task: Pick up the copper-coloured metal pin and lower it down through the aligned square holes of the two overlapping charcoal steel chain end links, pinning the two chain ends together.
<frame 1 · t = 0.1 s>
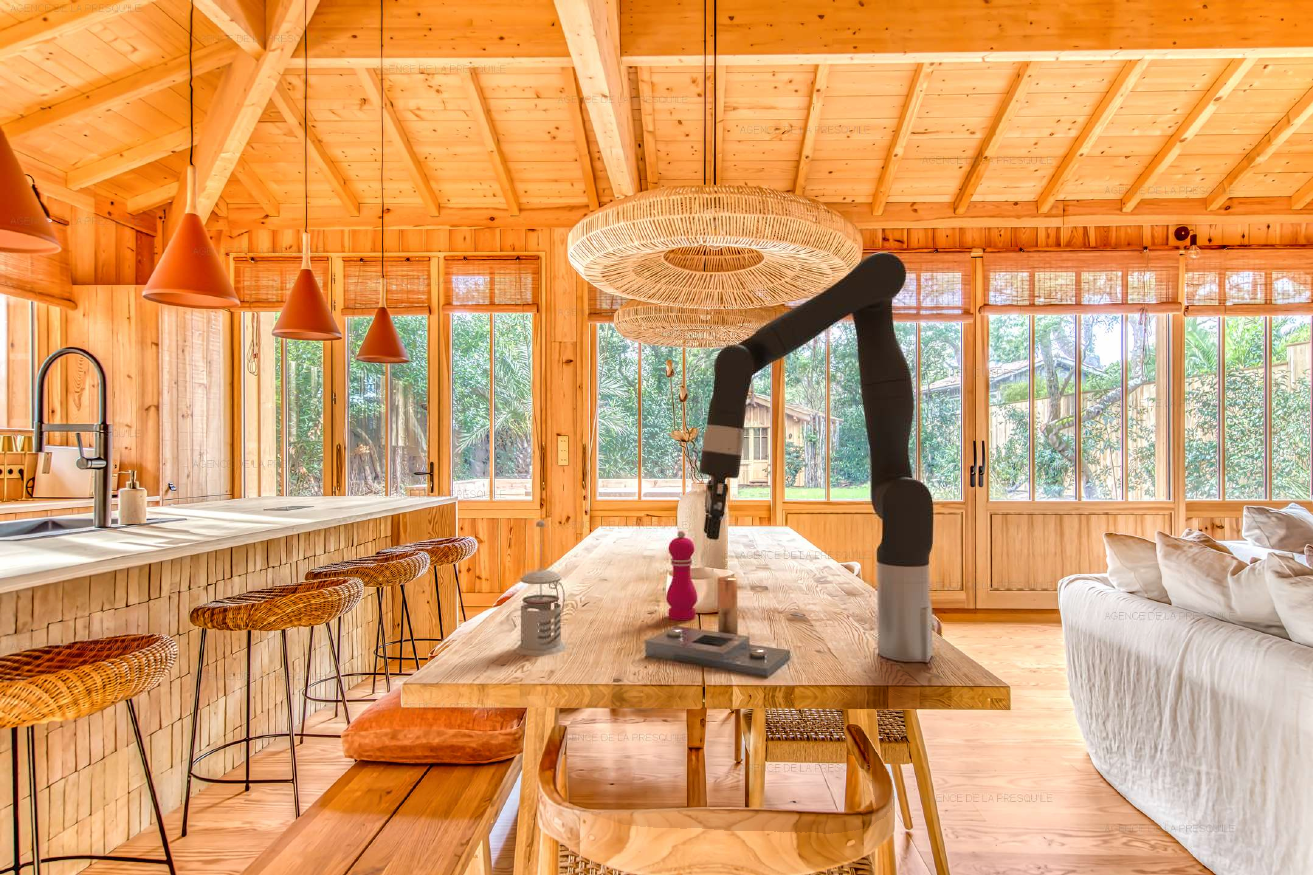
hand: (710, 536, 125), 22 cm above the table, tool pointing down, fingers open, 8 cm apart
lower link: (712, 656, 123), on the table
french press: (543, 647, 131), on the table
upper link: (712, 656, 123), on the table
copper pin: (728, 636, 137), on the table
pepper mill: (682, 617, 154), on the table
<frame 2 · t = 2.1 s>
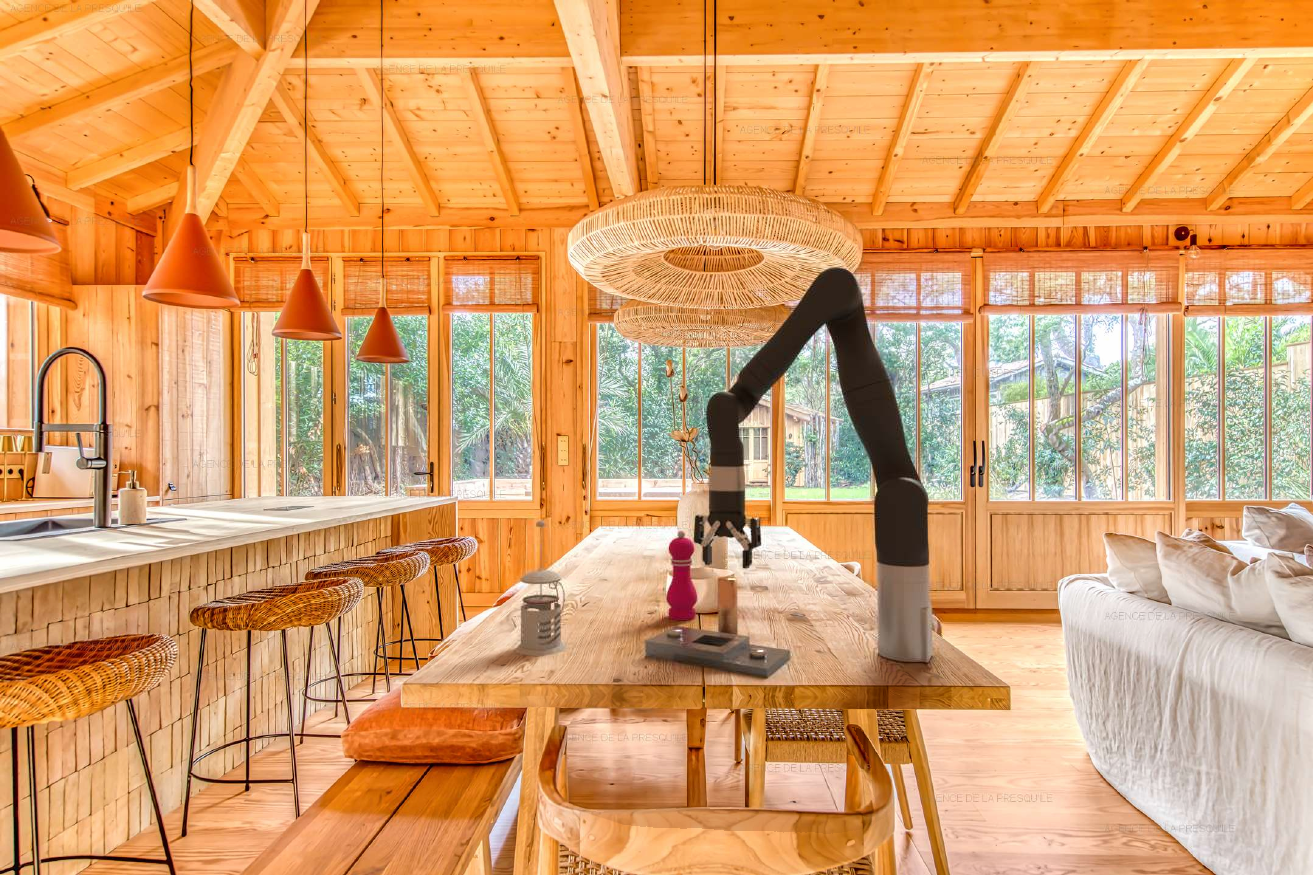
hand: (726, 566, 137), 14 cm above the table, tool pointing down, fingers open, 8 cm apart
nothing on the table moved.
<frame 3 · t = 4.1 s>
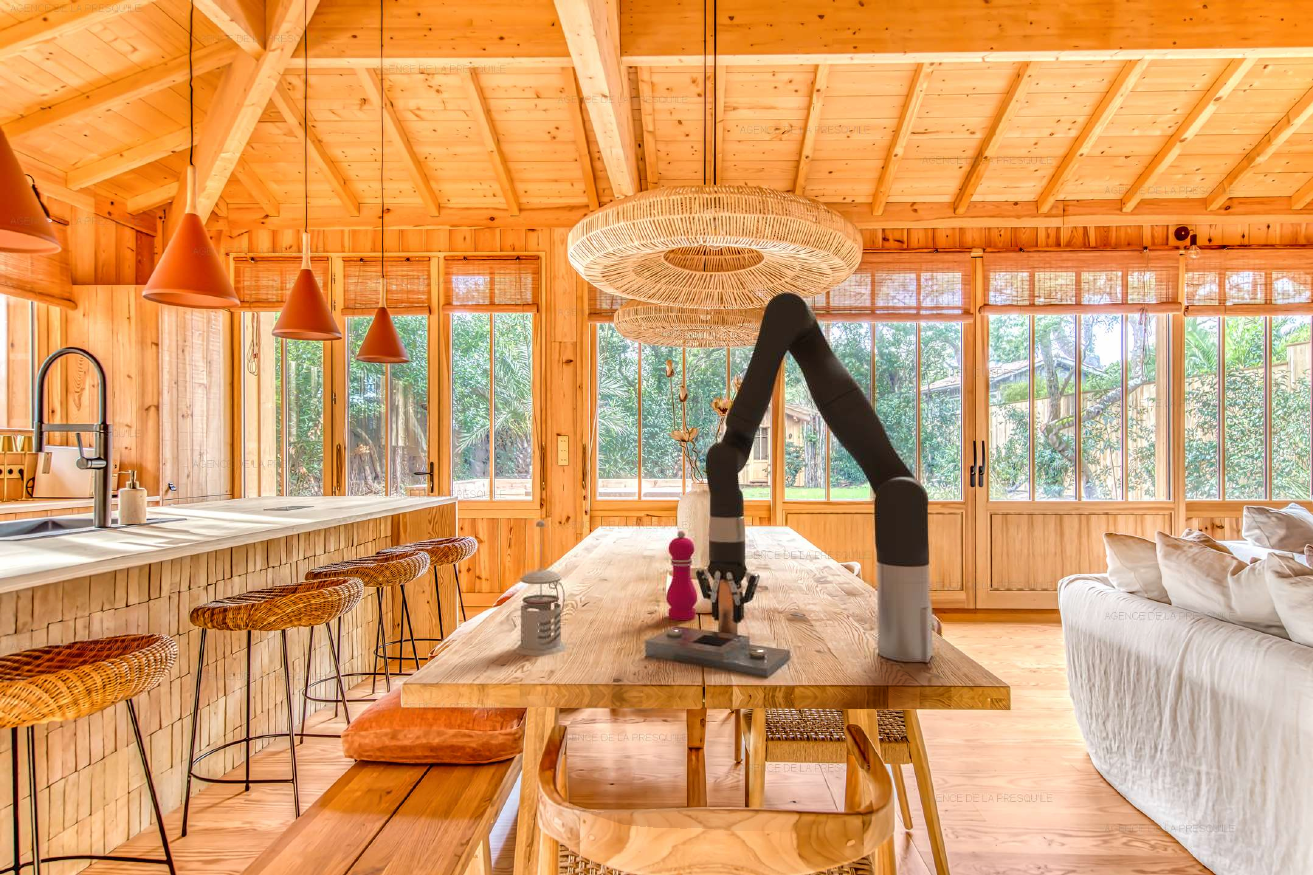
hand: (727, 620, 137), 3 cm above the table, tool pointing down, fingers closed on copper pin, 4 cm apart
copper pin: (727, 636, 137), on the table, touching gripper
everything else where it was.
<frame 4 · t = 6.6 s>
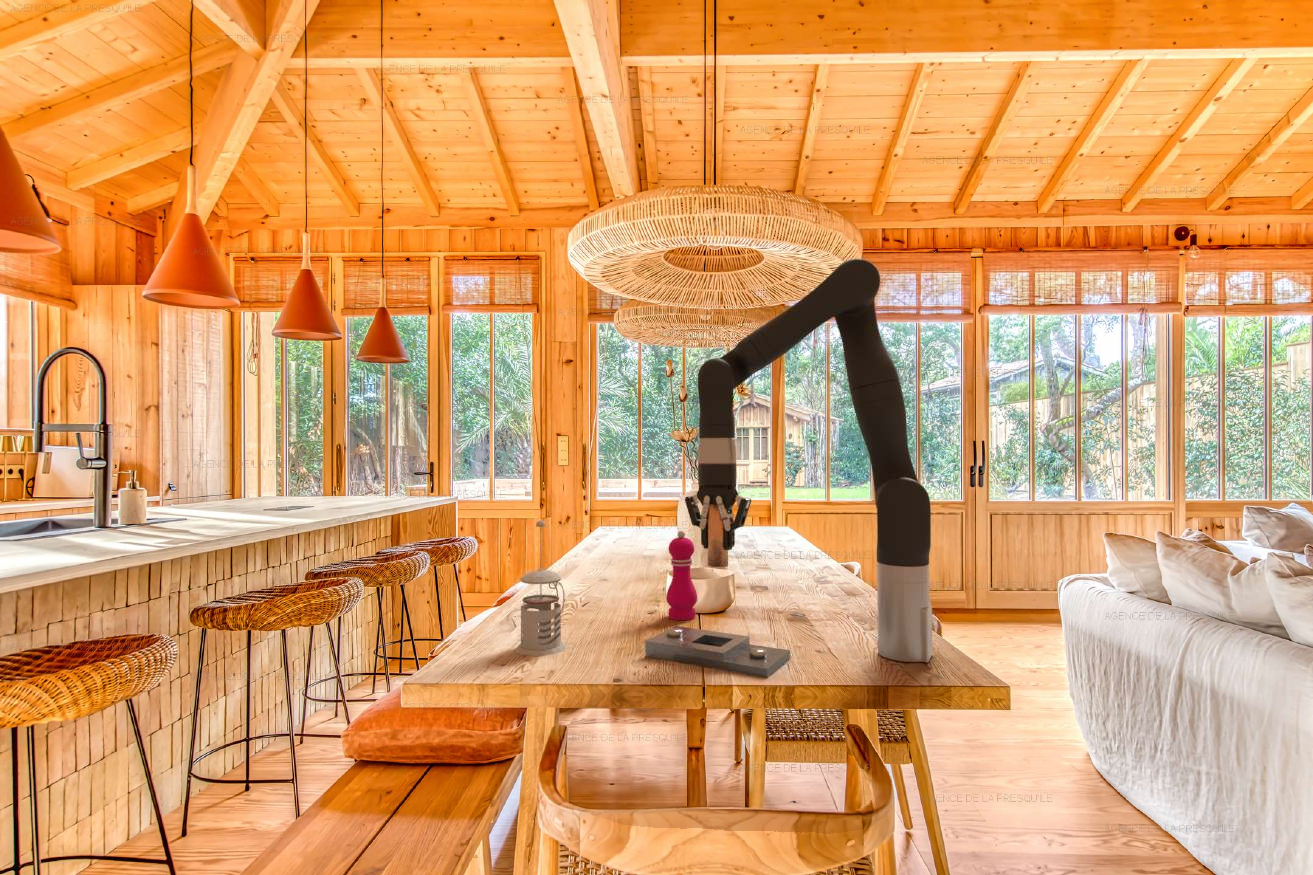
hand: (717, 548, 130), 19 cm above the table, tool pointing down, fingers closed on copper pin, 4 cm apart
copper pin: (718, 565, 130), point 16 cm above the table, touching gripper
everything else where it was.
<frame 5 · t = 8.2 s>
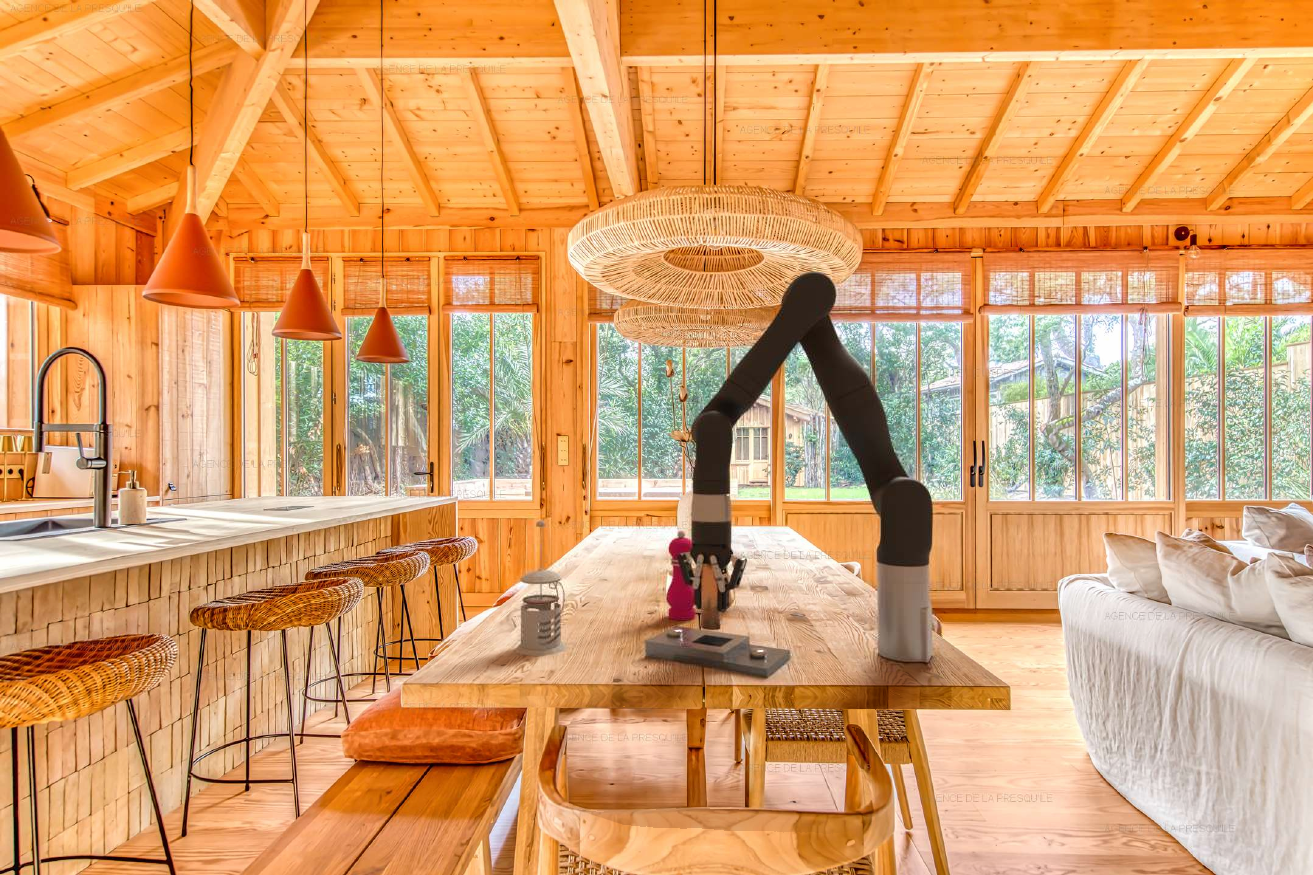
hand: (711, 609, 124), 9 cm above the table, tool pointing down, fingers closed on copper pin, 4 cm apart
copper pin: (711, 626, 124), point 6 cm above the table, touching gripper
everything else where it was.
when the fingers open (4 cm above the table, at t = 9.5 s): copper pin stays where it is, on the table.
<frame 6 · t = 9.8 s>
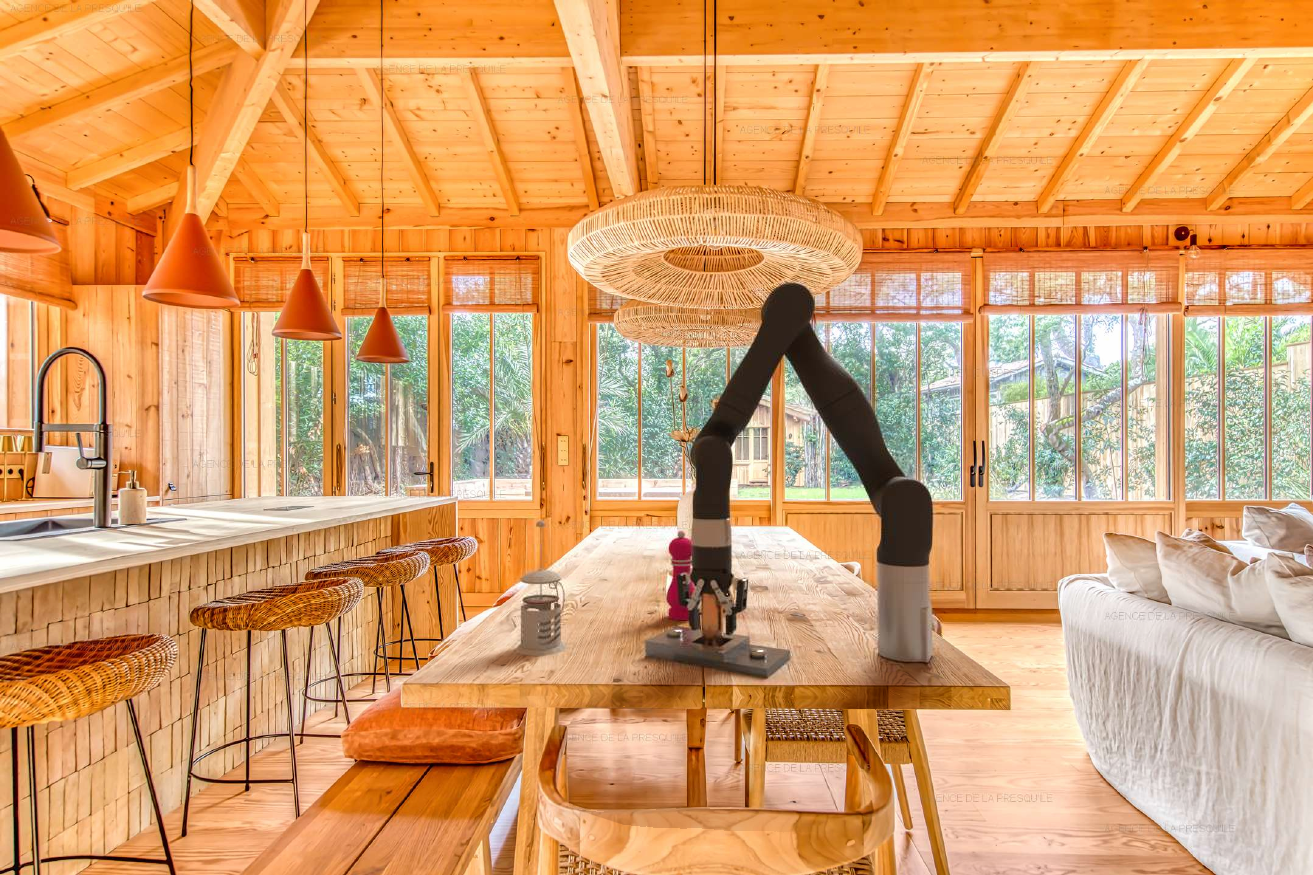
hand: (712, 631, 123), 5 cm above the table, tool pointing down, fingers open, 6 cm apart
copper pin: (712, 656, 123), on the table
everything else where it was.
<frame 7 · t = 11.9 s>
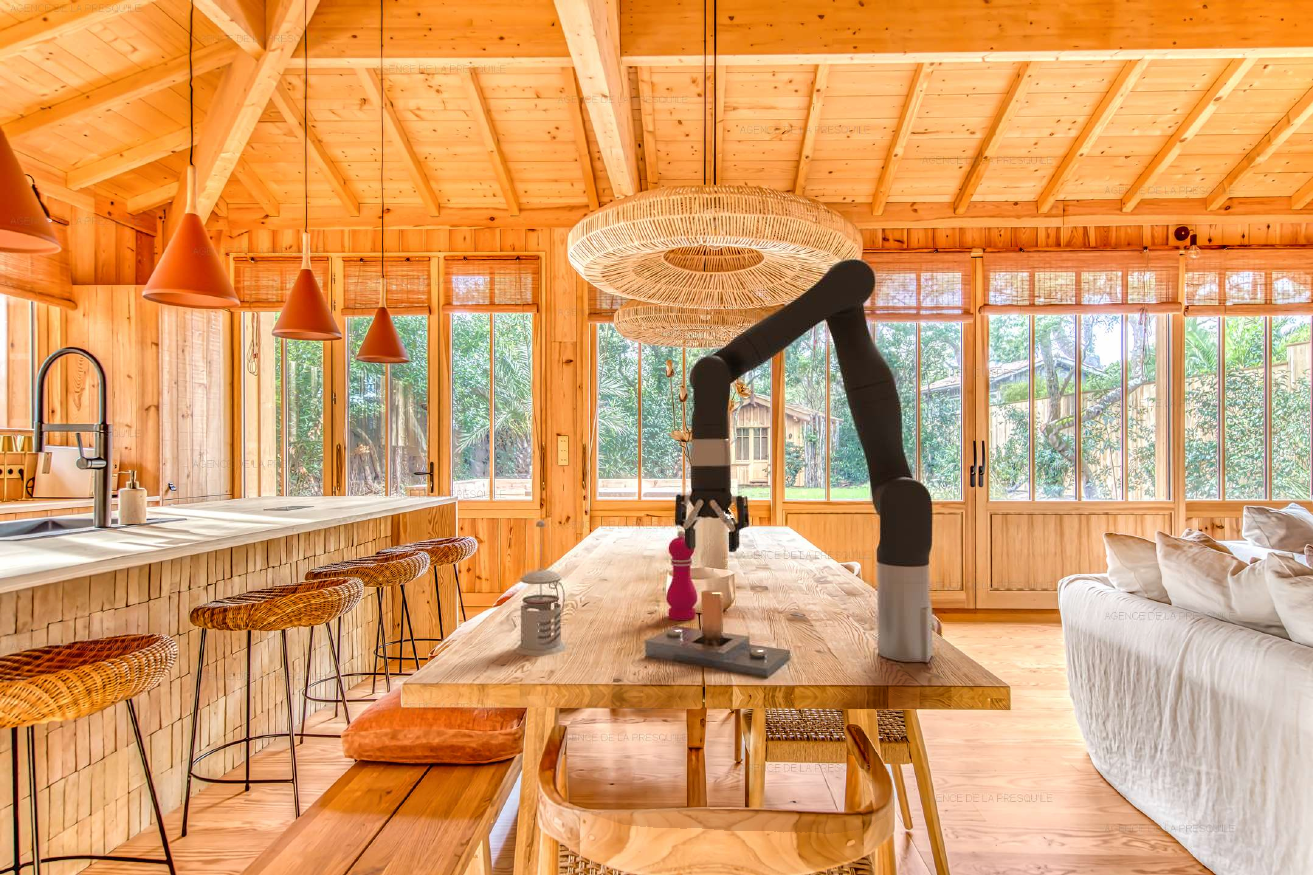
hand: (711, 550, 124), 20 cm above the table, tool pointing down, fingers open, 8 cm apart
nothing on the table moved.
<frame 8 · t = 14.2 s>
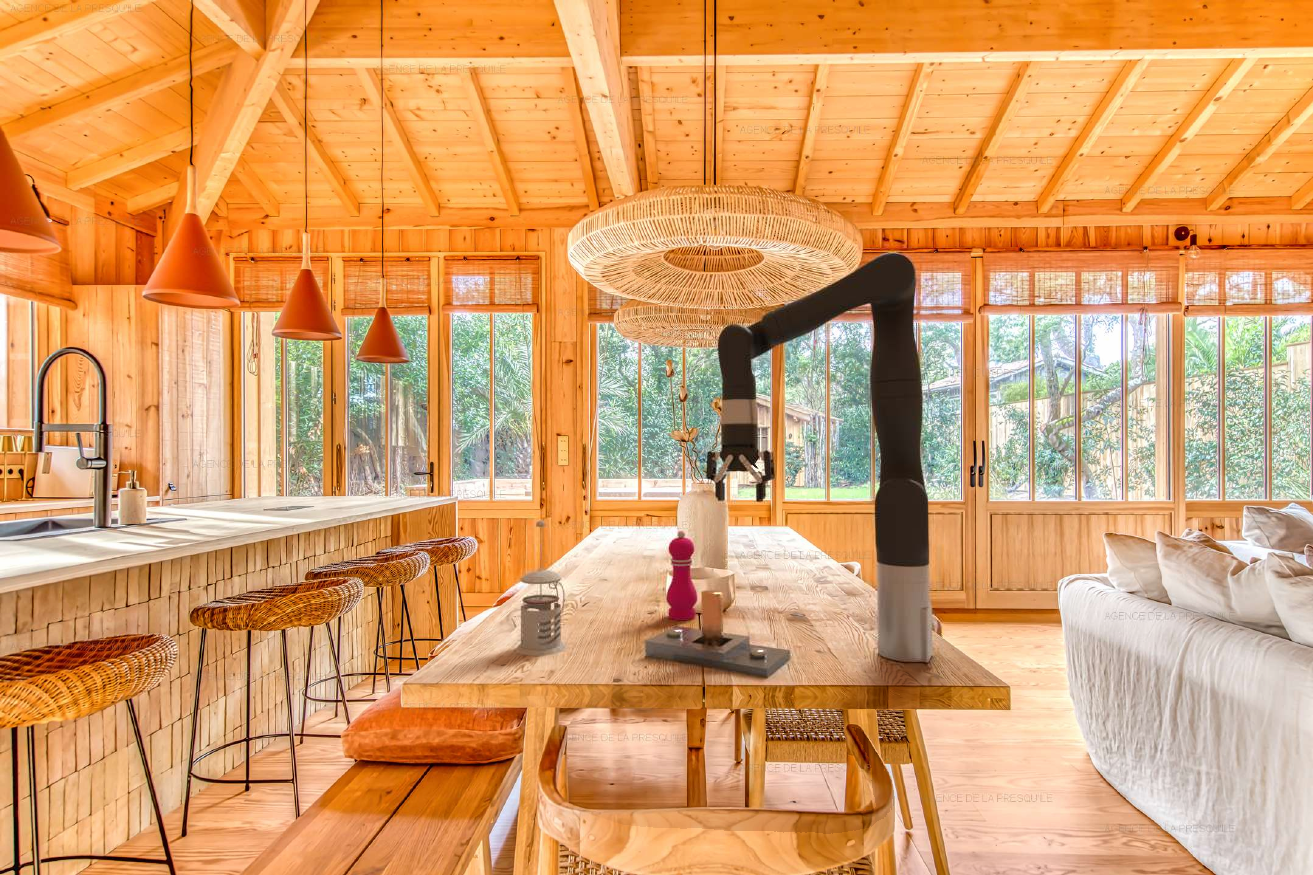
hand: (740, 501, 136), 28 cm above the table, tool pointing down, fingers open, 8 cm apart
nothing on the table moved.
at the end: copper pin 0.0 cm off-centre on the upper link, point 0.0 cm above the upper link's base; copper pin tilted 0°; the gripper is holding nothing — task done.
